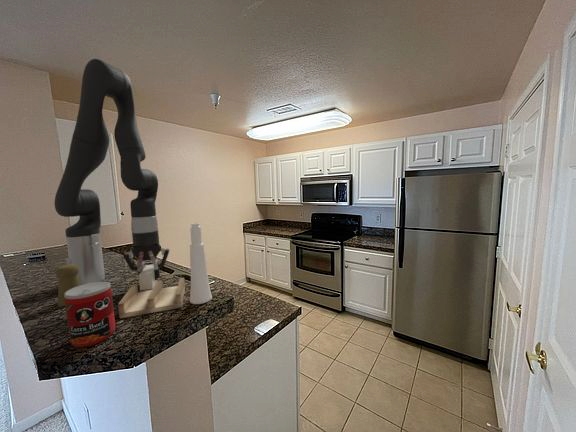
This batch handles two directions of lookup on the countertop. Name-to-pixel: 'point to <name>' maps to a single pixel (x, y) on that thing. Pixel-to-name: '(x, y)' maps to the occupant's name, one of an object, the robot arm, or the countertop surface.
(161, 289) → the rack
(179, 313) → the countertop surface
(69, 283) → the cork
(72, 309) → the canned food
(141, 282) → the white angular block
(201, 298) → the cosmetic bottle
